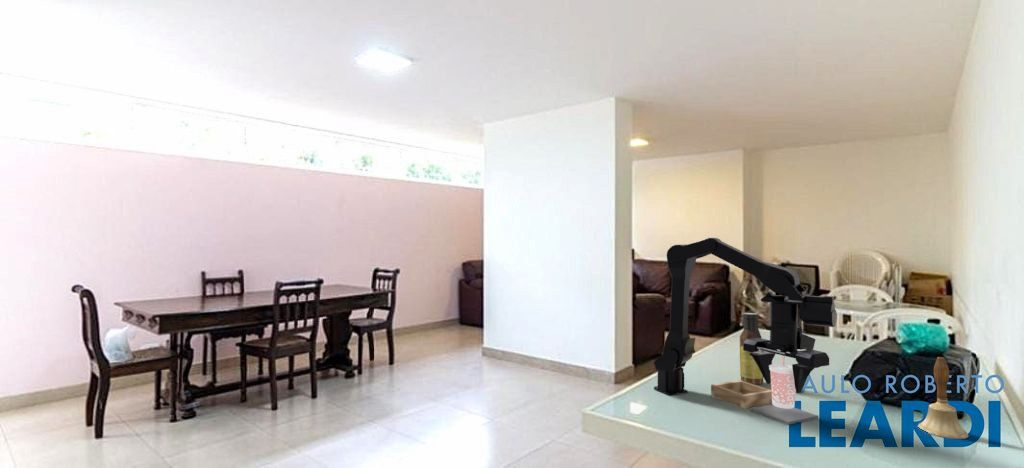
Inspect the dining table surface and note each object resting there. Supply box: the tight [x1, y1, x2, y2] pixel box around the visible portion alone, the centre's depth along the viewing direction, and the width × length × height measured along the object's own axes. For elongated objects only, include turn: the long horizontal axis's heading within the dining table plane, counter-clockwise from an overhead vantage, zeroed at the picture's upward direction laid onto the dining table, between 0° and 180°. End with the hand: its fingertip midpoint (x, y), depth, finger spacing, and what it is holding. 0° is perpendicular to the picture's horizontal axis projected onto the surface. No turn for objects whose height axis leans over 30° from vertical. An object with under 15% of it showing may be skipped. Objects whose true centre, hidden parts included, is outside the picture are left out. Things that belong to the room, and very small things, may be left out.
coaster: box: [750, 403, 819, 425], centre depth 119 cm, size 10×10×1 cm
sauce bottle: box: [738, 312, 764, 386], centre depth 145 cm, size 7×6×20 cm
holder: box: [710, 379, 772, 409], centre depth 130 cm, size 10×10×3 cm
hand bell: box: [917, 356, 969, 440], centre depth 109 cm, size 8×8×16 cm
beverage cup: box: [769, 355, 796, 409], centre depth 119 cm, size 6×6×14 cm
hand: (783, 388), depth 119 cm, fingers closed on beverage cup, 7 cm apart
